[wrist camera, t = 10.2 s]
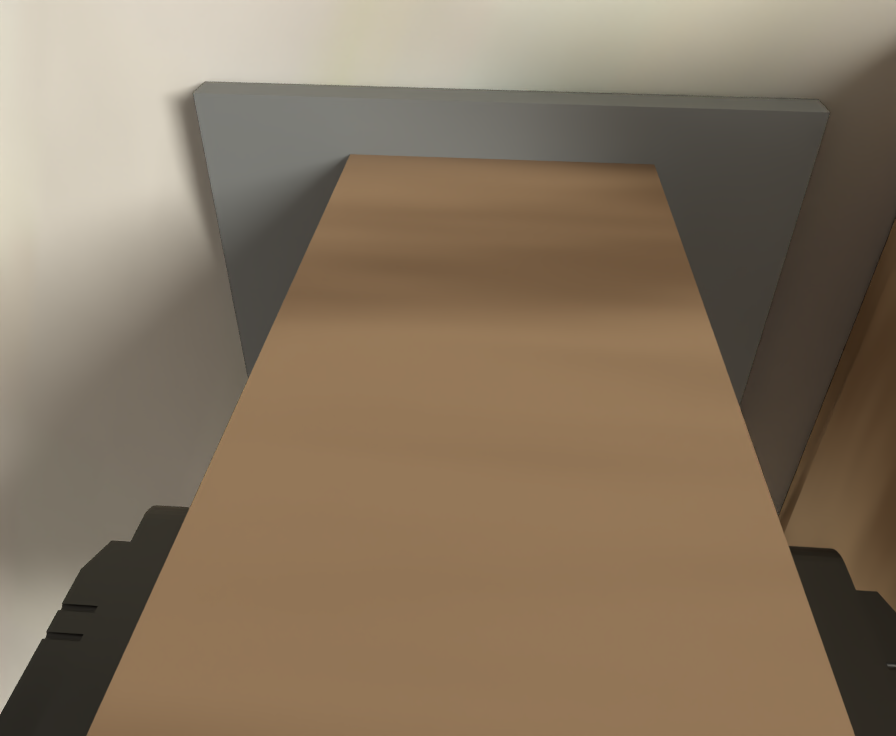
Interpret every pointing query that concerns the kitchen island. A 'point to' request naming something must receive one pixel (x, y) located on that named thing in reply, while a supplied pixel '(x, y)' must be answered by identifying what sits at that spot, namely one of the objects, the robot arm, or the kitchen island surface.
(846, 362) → the carton
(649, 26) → the kitchen island surface
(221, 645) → the block
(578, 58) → the kitchen island surface
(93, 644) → the robot arm
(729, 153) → the mat
